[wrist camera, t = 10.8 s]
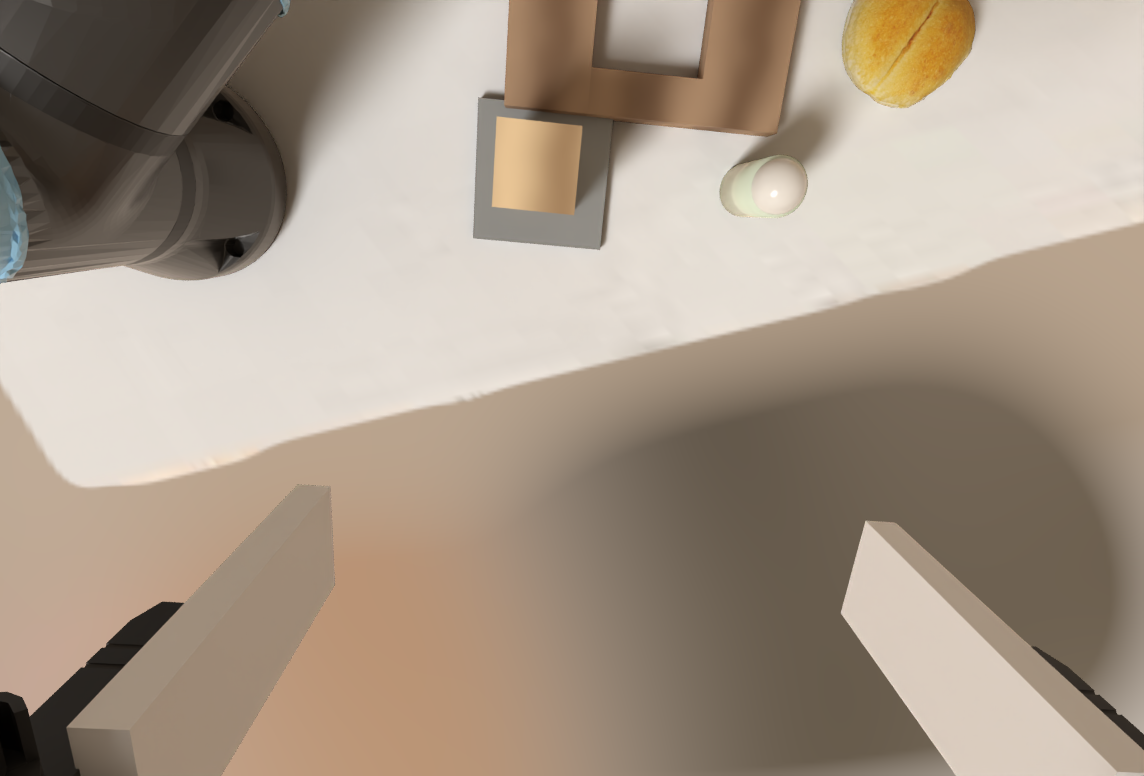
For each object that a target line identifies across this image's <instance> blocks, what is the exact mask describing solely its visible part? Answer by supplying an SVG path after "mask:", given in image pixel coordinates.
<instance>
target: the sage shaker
mask: <svg viewBox="0 0 1144 776" xmlns="http://www.w3.org/2000/svg"><path fill="white" fill-rule="evenodd" d="M807 186H808V180H807V174H806V172H805V169H804V167H803V166H802V165H801V163H800V162H799V161H798V160H796V159H795V158H793V157H791V156H788V155H775V156H771V157H767V158H763V159H759V160H755V161H751V162H747V163H743V164H739V165H737V166H735V167H733V168H732V169H730V170H729V171H728V172H727V174H726V175H725V176H724V178H723V180H722V182H721V185H720V199H721V202H722V205H723V206H724V208H725V209H726V210H727V211H728V212H729V213H731V214H733V215H735V216H739V217H762V218H780V217H784V216H786V215H788V214H790V213H792V212H793V211H795V210H796V209H797V208H798V207H799V205H800V204H801V203H802V201H803V199H804V197H805V195H806V192H807Z"/></svg>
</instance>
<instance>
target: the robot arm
mask: <svg viewBox="0 0 1144 776" xmlns="http://www.w3.org/2000/svg"><path fill="white" fill-rule="evenodd" d="M289 6H290V0H0V284H1V283H6V282H10V281H17V280H24V279H31V278H38V277H45V276H52V275H59V274H66V273H73V272H80V271H87V270H94V269H101V268H108V267H116V266H126V267H129V268H132V269H135V270H139V271H142V272H145V273H148V274H152V275H155V276H159V277H163V278H168V279H175V280H203V279H209V278H214V277H220V276H224V275H228V274H232V273H234V272H237V271H239V270H241V269H243V268H245V267H247V266H249V265H250V264H252V263H253V262H255V261H256V260H257V259H258V258H259V257H260V256H261V255H262V254H263V253H264V252H265V251H266V250H267V249H268V248H269V246H270V245H271V244H272V242H273V241H274V239H275V237H276V235H277V233H278V231H279V229H280V226H281V224H282V220H283V217H284V212H285V206H286V179H285V173H284V168H283V164H282V160H281V157H280V154H279V151H278V149H277V146H276V144H275V142H274V140H273V138H272V136H271V134H270V132H269V131H268V129H267V127H266V126H265V124H264V123H263V121H262V120H261V119H260V117H259V116H258V115H257V114H256V112H255V111H254V110H253V109H252V108H251V107H250V106H249V105H248V104H247V103H246V102H245V101H244V100H243V99H242V98H241V97H240V96H239V95H238V94H236V93H235V92H234V91H232V90H231V89H230V88H228V87H227V86H225V85H226V83H227V82H228V81H229V79H230V78H231V77H232V75H233V74H234V73H235V71H236V70H237V69H238V67H239V66H240V65H241V63H242V62H243V61H244V59H245V58H246V57H247V55H248V54H249V53H250V51H251V50H252V49H253V47H254V46H255V45H256V43H257V42H258V41H259V39H260V38H261V37H262V35H263V34H264V33H265V31H266V30H267V29H268V27H269V26H270V25H271V23H272V22H273V21H274V20H275V18H276V17H277V16H279V17H281V18H282V17H284V16H285V15H286V14H287V13H288V10H289ZM334 586H335V576H334V554H333V531H332V509H331V487H330V486H314V485H299V484H298V485H297V486H296V487H295V488H294V489H293V490H292V491H291V492H290V493H289V494H288V495H287V496H286V497H285V499H283V501H281V502H280V503H279V505H278V506H277V507H276V508H275V509H274V510H273V511H272V512H271V513H270V514H269V515H268V516H267V517H266V518H265V519H264V520H263V521H262V522H261V523H260V525H259V526H258V527H257V528H256V529H255V530H254V531H253V532H252V533H251V534H250V535H249V536H248V537H247V538H246V539H245V540H244V541H243V542H242V543H241V545H240V546H239V547H238V548H237V549H236V550H235V551H234V552H233V553H232V554H231V555H230V556H229V557H228V558H227V559H226V560H225V561H224V562H223V563H222V564H221V565H220V566H219V568H218V569H217V570H216V571H215V572H214V573H213V574H212V575H211V576H210V577H209V578H208V579H207V580H206V581H205V582H204V583H203V584H202V585H201V587H199V589H198V590H197V591H196V592H195V593H194V594H193V595H192V596H191V597H190V598H189V599H188V600H187V601H186V602H185V603H176V602H161V603H159V604H158V605H156V606H154V607H152V608H151V609H149V610H147V611H146V612H144V613H142V614H141V615H139V616H137V617H135V618H134V619H132V620H130V622H128V623H127V624H126V625H125V626H124V627H123V628H122V629H121V630H120V631H119V632H118V633H117V634H116V635H115V636H114V637H113V638H112V639H111V640H109V642H107V644H106V647H105V648H101V649H100V650H99V651H98V652H97V653H96V654H95V655H94V656H93V657H92V658H91V659H90V660H89V661H88V662H87V664H86V666H85V668H80V669H79V670H78V671H77V672H76V673H75V674H74V675H73V676H72V677H71V678H70V679H69V680H68V681H67V682H66V683H65V684H64V685H62V686H61V687H60V688H59V689H58V690H57V691H56V692H55V693H54V694H53V695H52V696H51V697H50V698H49V699H48V700H47V701H46V702H45V703H44V704H43V705H42V706H41V707H40V708H38V709H37V710H36V712H34V713H33V714H32V715H31V716H30V717H29V713H28V709H27V707H26V704H25V702H24V700H23V698H22V697H20V696H17V695H14V694H12V693H9V692H0V776H221V775H222V774H223V772H224V770H225V769H226V767H227V765H228V764H229V762H230V760H231V759H232V757H233V755H234V754H235V752H236V750H237V749H238V747H239V745H240V744H241V742H242V740H243V738H244V737H245V735H246V733H247V731H248V730H249V728H250V727H251V725H252V723H253V722H254V720H255V718H256V717H257V715H258V713H259V712H260V710H261V708H262V707H263V705H264V703H265V702H266V700H267V698H268V696H269V695H270V693H271V691H272V690H273V688H274V686H275V685H276V683H277V681H278V680H279V678H280V676H281V675H282V673H283V671H284V669H285V668H286V666H287V664H288V663H289V661H290V660H291V658H292V656H293V655H294V653H295V651H296V649H297V648H298V646H299V644H300V643H301V641H302V639H303V638H304V636H305V634H306V632H307V631H308V629H309V628H310V626H311V624H312V623H313V621H314V619H315V617H316V616H317V614H318V612H319V611H320V609H321V607H322V606H323V604H324V602H325V601H326V599H327V597H328V596H329V594H330V592H331V590H332V589H333V587H334ZM841 614H842V615H843V617H844V618H845V619H846V621H847V622H848V624H849V625H850V626H851V628H852V629H853V631H854V632H855V634H856V635H857V637H858V638H859V639H860V641H861V642H862V643H863V645H864V646H865V648H866V649H867V650H868V652H869V653H870V655H871V656H872V658H873V659H874V661H875V662H876V663H877V665H878V666H879V668H880V669H881V670H882V672H883V673H884V675H885V676H886V677H887V679H888V680H889V682H890V683H891V684H892V686H893V687H894V689H895V690H896V692H897V693H898V694H899V696H900V697H901V699H902V700H903V701H904V703H905V704H906V706H907V707H908V708H909V710H910V711H911V713H912V714H913V715H914V717H915V718H916V720H917V721H918V723H919V724H920V725H921V727H922V728H923V730H924V731H925V732H926V734H927V735H928V737H929V738H930V739H931V741H932V742H933V744H934V745H935V746H936V748H937V749H938V751H939V752H940V754H941V755H942V756H943V758H944V759H945V761H946V762H947V763H948V765H949V766H950V767H951V769H952V770H953V772H954V773H955V775H956V776H1144V734H1143V733H1142V732H1140V731H1139V730H1138V729H1137V728H1136V727H1135V726H1134V725H1133V724H1131V723H1130V722H1129V721H1128V720H1127V719H1126V718H1125V717H1124V716H1122V715H1118V714H1117V713H1116V709H1115V708H1113V707H1112V706H1111V705H1110V704H1109V703H1108V702H1107V701H1106V700H1104V699H1103V698H1102V697H1101V696H1100V695H1095V693H1094V690H1093V689H1092V688H1091V687H1090V686H1089V685H1087V684H1086V683H1085V682H1084V681H1083V680H1082V679H1081V678H1080V677H1079V676H1077V675H1076V674H1075V673H1074V672H1073V671H1072V670H1071V669H1070V668H1068V667H1067V666H1065V665H1064V664H1062V663H1061V662H1059V661H1058V660H1056V659H1054V658H1053V657H1051V656H1050V655H1048V654H1046V653H1045V652H1043V651H1042V650H1040V649H1039V648H1037V647H1031V646H1029V645H1028V644H1027V643H1026V642H1025V641H1024V640H1023V639H1022V638H1020V636H1019V635H1017V634H1016V633H1015V632H1014V631H1013V630H1012V629H1011V628H1010V627H1009V626H1008V625H1007V624H1005V623H1004V622H1003V621H1002V620H1001V619H1000V618H999V617H998V616H997V615H995V613H993V612H992V611H991V610H990V609H989V608H988V607H987V606H986V605H985V604H984V603H982V602H981V601H980V600H979V599H978V598H977V597H976V596H975V595H974V594H973V593H971V591H969V590H968V589H967V588H966V587H965V586H964V585H963V584H962V583H961V582H960V581H959V580H957V579H956V578H955V577H954V576H953V575H952V574H951V573H950V572H949V571H948V570H946V569H945V568H944V567H943V566H942V565H941V564H940V563H939V562H938V561H937V560H936V559H935V558H933V557H932V556H931V555H930V554H929V553H928V552H927V551H926V550H924V548H922V547H921V546H920V545H919V544H918V543H917V542H916V541H915V540H914V539H913V538H912V537H910V536H909V535H908V534H907V533H906V532H905V531H904V530H903V529H902V528H901V527H900V526H898V525H897V524H896V523H891V522H877V521H866V522H865V526H864V529H863V533H862V537H861V540H860V544H859V548H858V552H857V555H856V559H855V563H854V566H853V570H852V574H851V577H850V581H849V585H848V589H847V592H846V596H845V600H844V603H843V607H842V611H841Z"/></svg>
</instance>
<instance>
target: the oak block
mask: <svg viewBox="0 0 1144 776" xmlns="http://www.w3.org/2000/svg"><path fill="white" fill-rule="evenodd" d="M582 127H583V126H578V125H569V124H560V123H551V122H542V121H533V120H524V119H515V118H506V117H497V121H496V139H495V158H494V177H493V195H492V207H499V208H509V209H519V210H528V211H538V212H548V213H558V214H568V215H574V212H575V201H576V191H577V180H578V170H579V159H580V148H581V138H582Z"/></svg>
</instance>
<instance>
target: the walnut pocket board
mask: <svg viewBox="0 0 1144 776" xmlns="http://www.w3.org/2000/svg"><path fill="white" fill-rule="evenodd" d="M597 1H598V0H509V16H508V36H507V57H506V77H505V97H504V106H505V108H512V109H522V110H531V111H541V112H551V113H560V114H570V115H579V116H589V117H599V118H608V119H613V121H620V122H630V123H640V124H649V125H659V126H668V127H678V128H688V129H697V130H707V131H716V132H726V133H736V134H745V135H755V136H765V137H768V136H771V135H774V134H776V133H777V129H778V124H779V118H780V113H781V107H782V102H783V96H784V91H785V85H786V80H787V74H788V69H789V63H790V58H791V52H792V47H793V41H794V36H795V30H796V25H797V19H798V14H799V8H800V3H801V0H708V5H707V12H706V19H705V27H704V34H703V41H702V48H701V55H700V62H699V70H698V77H697V79H696V78H687V77H678V76H669V75H660V74H650V73H641V72H632V71H623V70H614V69H605V68H595V67H592V57H593V46H594V34H595V23H596V12H597Z"/></svg>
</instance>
